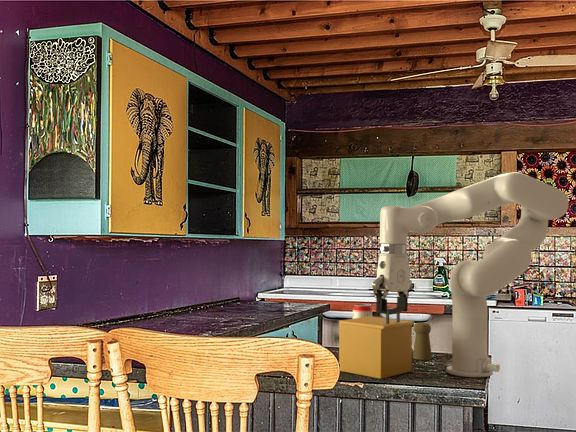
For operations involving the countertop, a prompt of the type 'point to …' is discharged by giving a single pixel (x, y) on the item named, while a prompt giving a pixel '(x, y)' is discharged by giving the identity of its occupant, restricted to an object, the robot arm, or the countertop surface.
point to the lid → (380, 320)
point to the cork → (422, 342)
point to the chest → (375, 350)
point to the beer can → (362, 311)
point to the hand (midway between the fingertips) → (391, 312)
